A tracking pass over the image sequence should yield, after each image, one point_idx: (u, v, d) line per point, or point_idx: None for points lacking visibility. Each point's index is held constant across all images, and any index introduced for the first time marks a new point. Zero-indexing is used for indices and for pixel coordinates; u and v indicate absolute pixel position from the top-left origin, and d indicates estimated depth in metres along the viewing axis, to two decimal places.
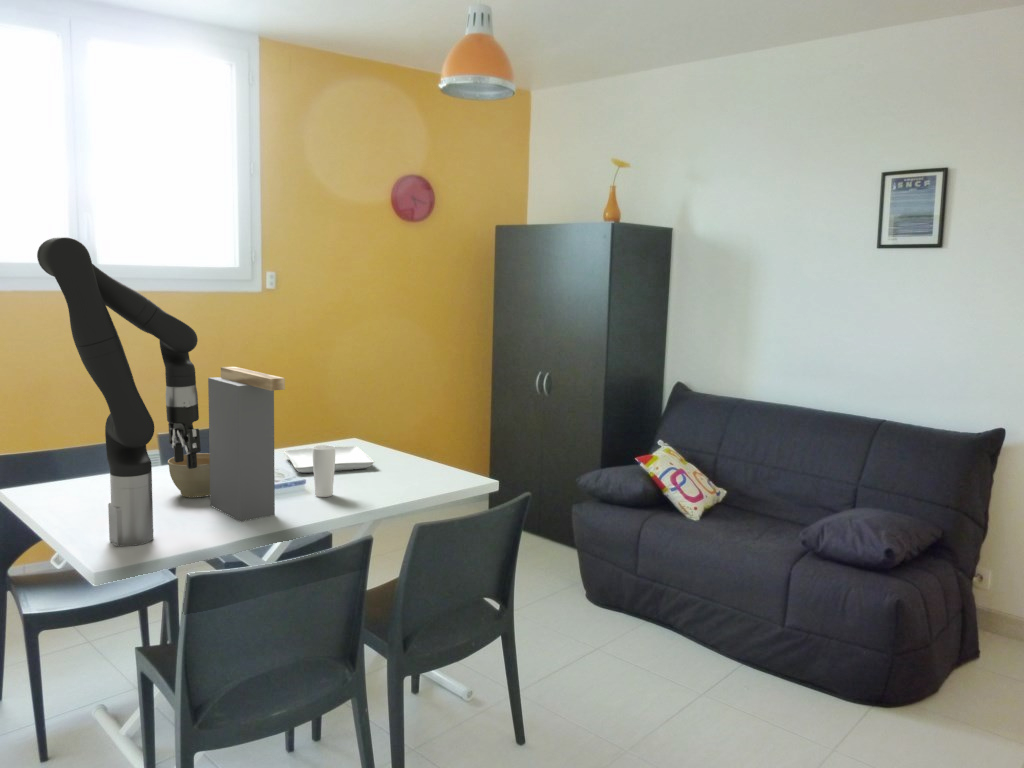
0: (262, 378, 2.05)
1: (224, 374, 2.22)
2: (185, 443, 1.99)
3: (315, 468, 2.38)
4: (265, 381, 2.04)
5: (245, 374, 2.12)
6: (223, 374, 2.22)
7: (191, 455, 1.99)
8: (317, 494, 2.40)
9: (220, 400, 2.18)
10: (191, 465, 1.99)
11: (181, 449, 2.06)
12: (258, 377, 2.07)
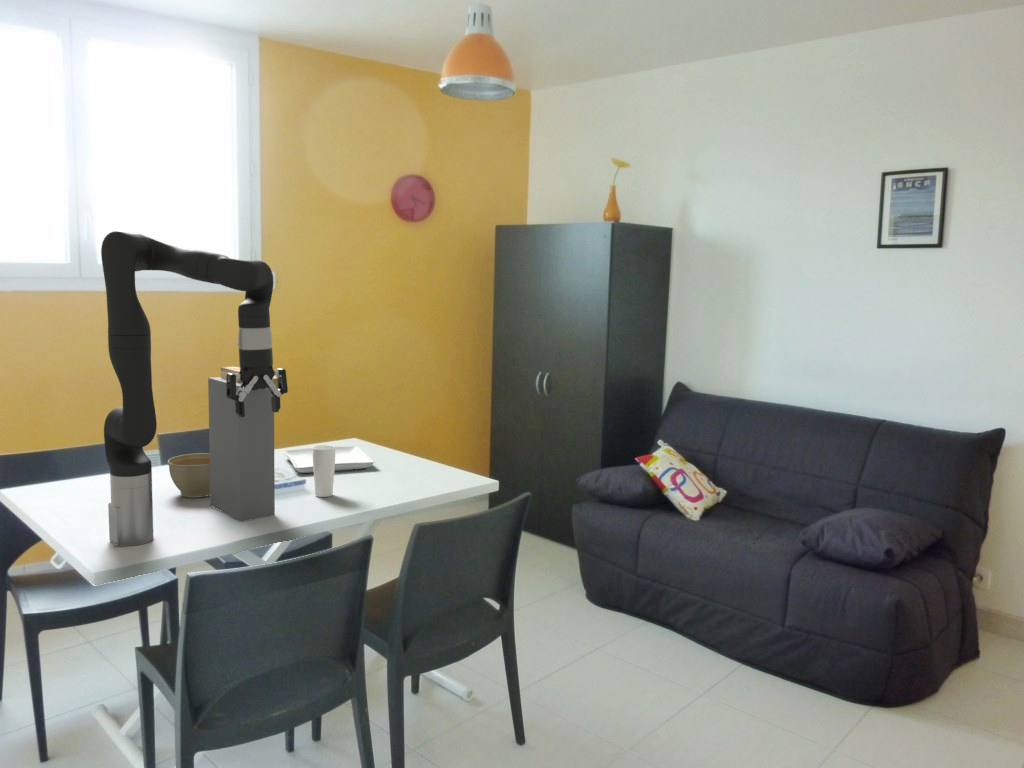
0: None
1: (224, 374, 2.22)
2: None
3: (315, 468, 2.38)
4: None
5: None
6: (223, 374, 2.22)
7: None
8: (317, 494, 2.40)
9: (220, 400, 2.18)
10: (279, 407, 1.91)
11: None
12: None
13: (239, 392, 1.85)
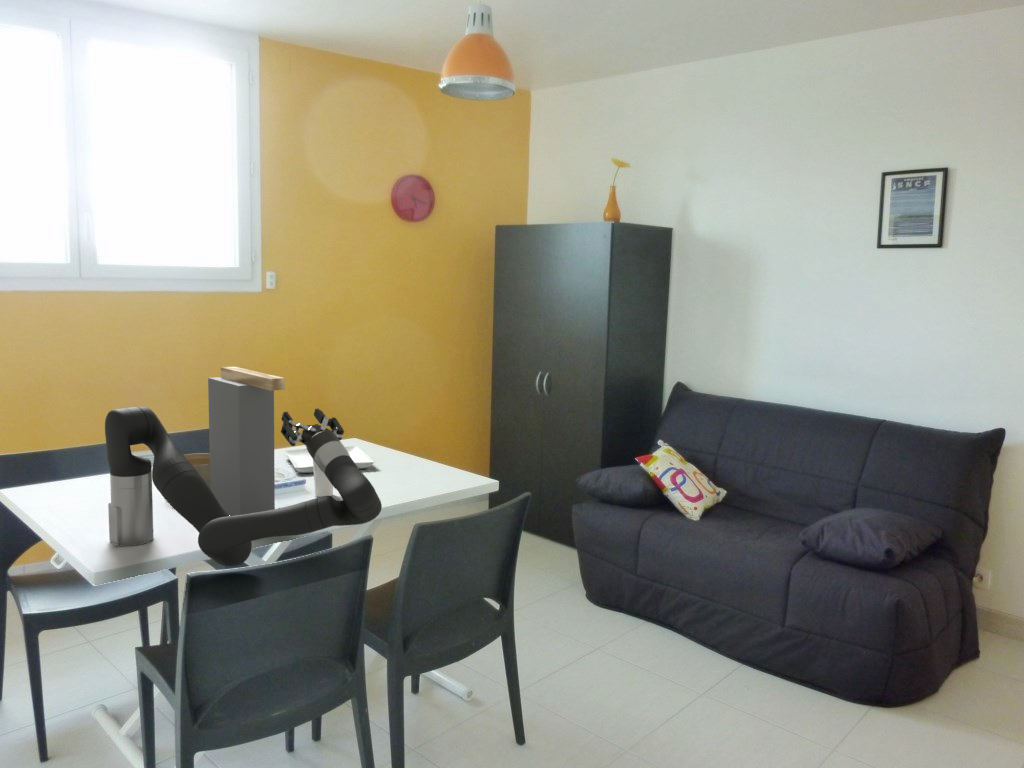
0: (262, 378, 2.05)
1: (224, 374, 2.22)
2: None
3: (315, 468, 2.38)
4: (265, 381, 2.04)
5: (245, 374, 2.12)
6: (223, 374, 2.22)
7: None
8: (317, 494, 2.40)
9: (220, 400, 2.18)
10: None
11: None
12: (258, 377, 2.07)
13: None
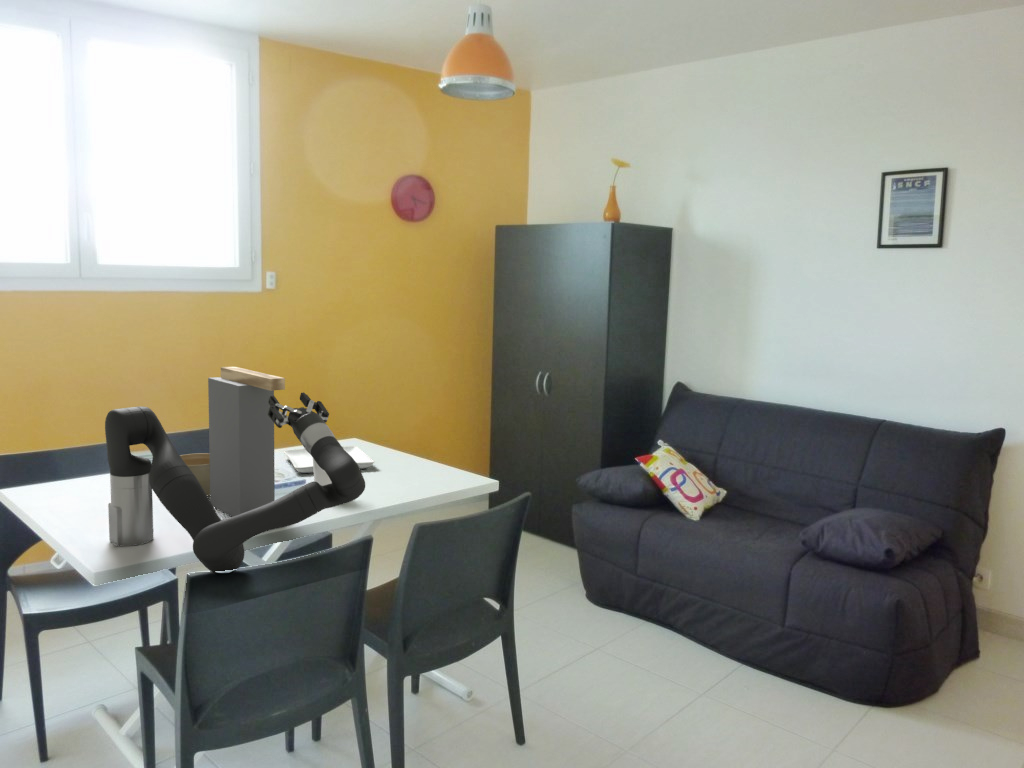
0: (262, 378, 2.05)
1: (224, 374, 2.22)
2: None
3: (315, 468, 2.38)
4: (265, 381, 2.04)
5: (245, 374, 2.12)
6: (223, 374, 2.22)
7: None
8: None
9: (220, 400, 2.18)
10: None
11: None
12: (258, 377, 2.07)
13: None
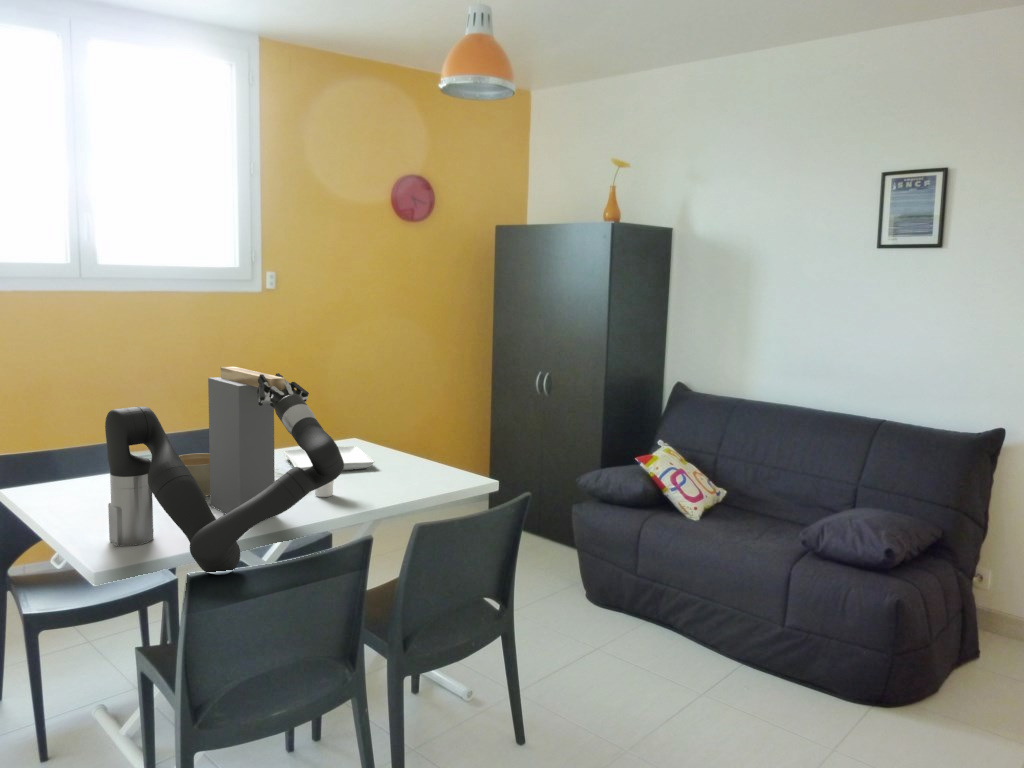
0: None
1: (224, 374, 2.22)
2: None
3: None
4: None
5: (245, 374, 2.12)
6: (223, 374, 2.22)
7: None
8: (317, 494, 2.40)
9: (220, 400, 2.18)
10: None
11: None
12: (258, 377, 2.07)
13: None
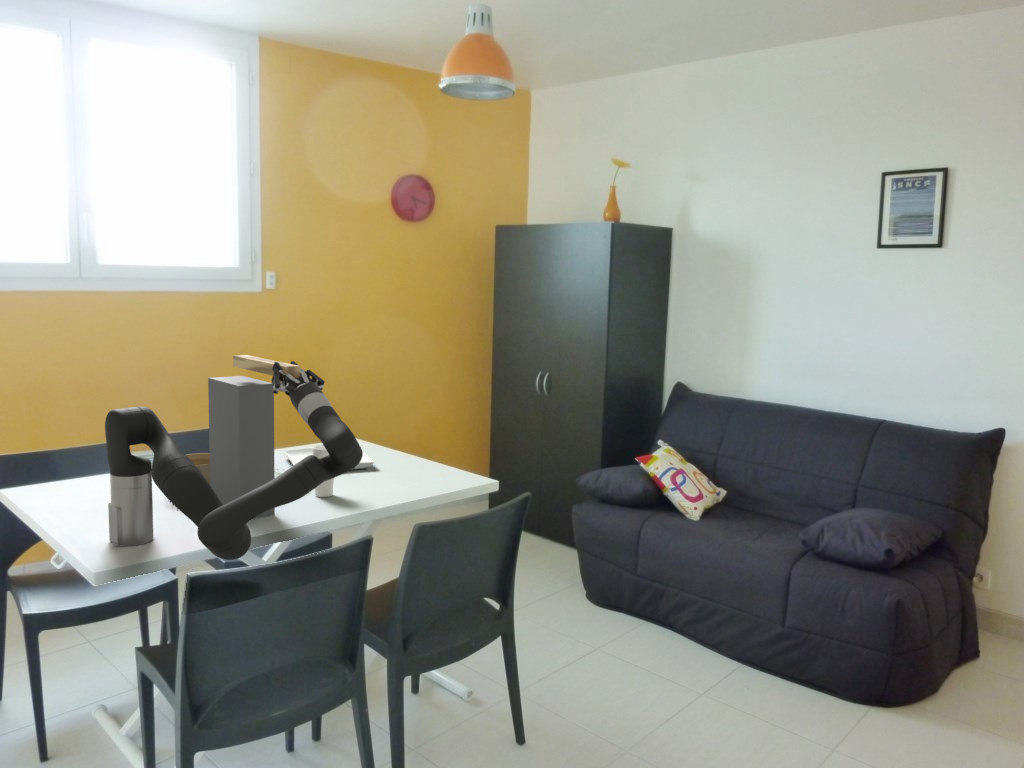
0: None
1: (237, 362, 2.16)
2: None
3: None
4: None
5: (259, 362, 2.07)
6: (236, 362, 2.17)
7: None
8: (317, 494, 2.40)
9: (220, 400, 2.18)
10: None
11: None
12: (272, 365, 2.01)
13: None
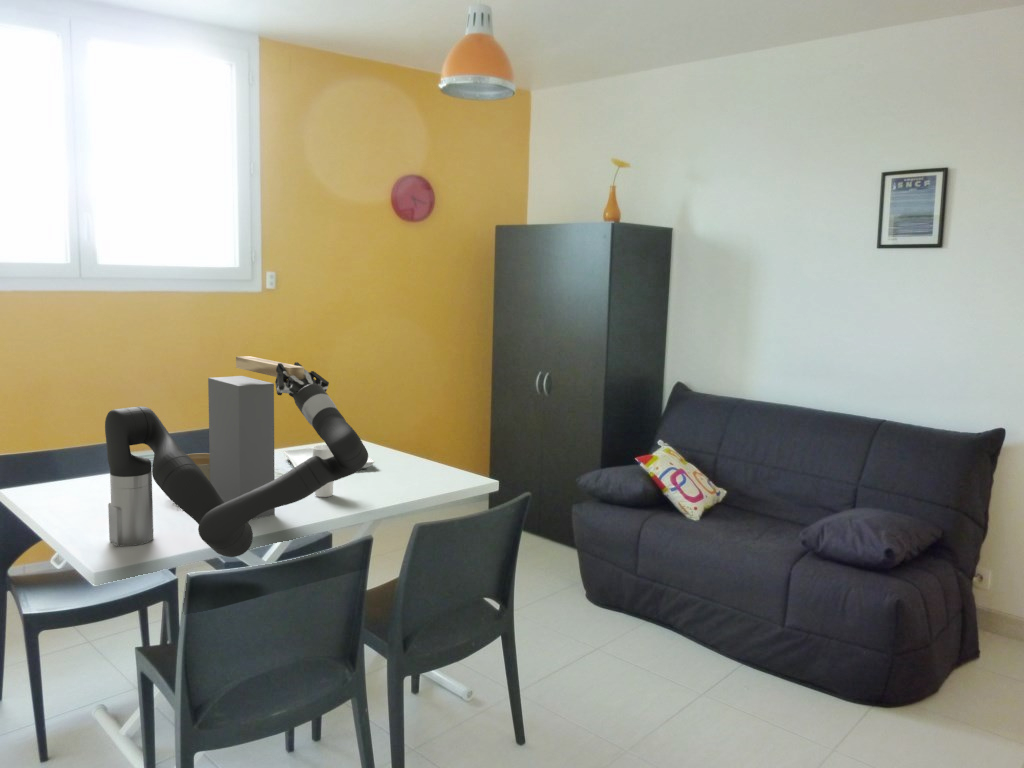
0: None
1: (240, 364, 2.14)
2: None
3: None
4: None
5: (262, 363, 2.05)
6: (239, 363, 2.15)
7: None
8: (317, 494, 2.40)
9: (220, 400, 2.18)
10: None
11: None
12: (276, 366, 1.99)
13: None
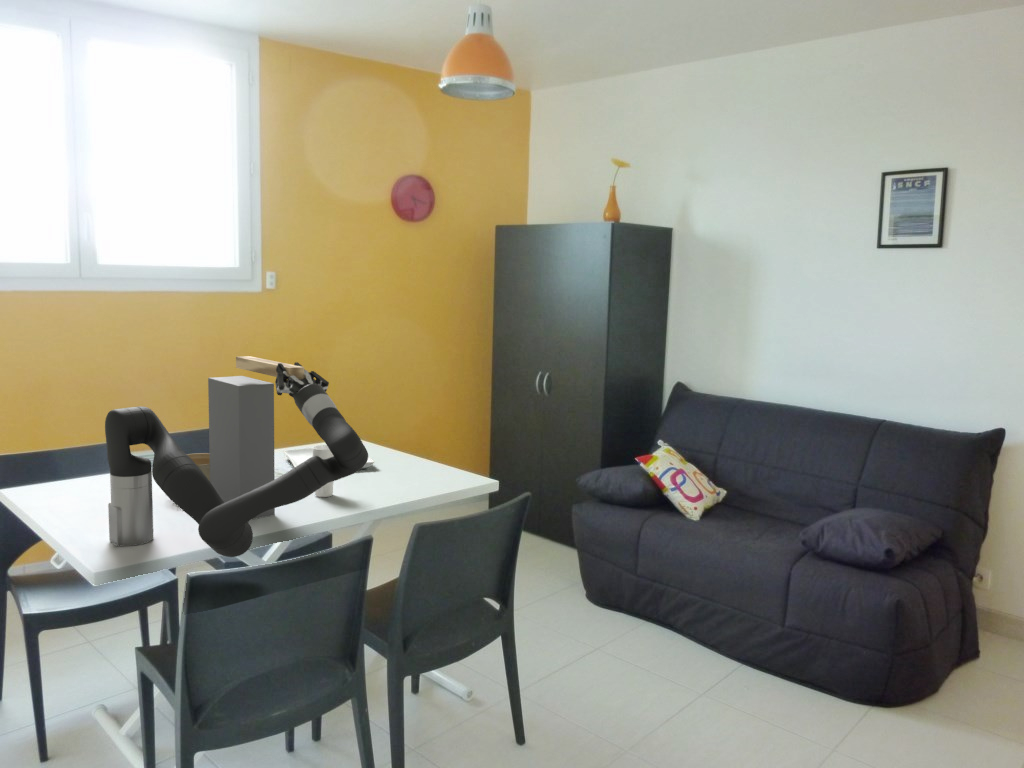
0: None
1: (240, 364, 2.14)
2: None
3: None
4: None
5: (262, 363, 2.05)
6: (239, 363, 2.15)
7: None
8: (317, 494, 2.40)
9: (220, 400, 2.18)
10: None
11: None
12: (276, 366, 1.99)
13: None
